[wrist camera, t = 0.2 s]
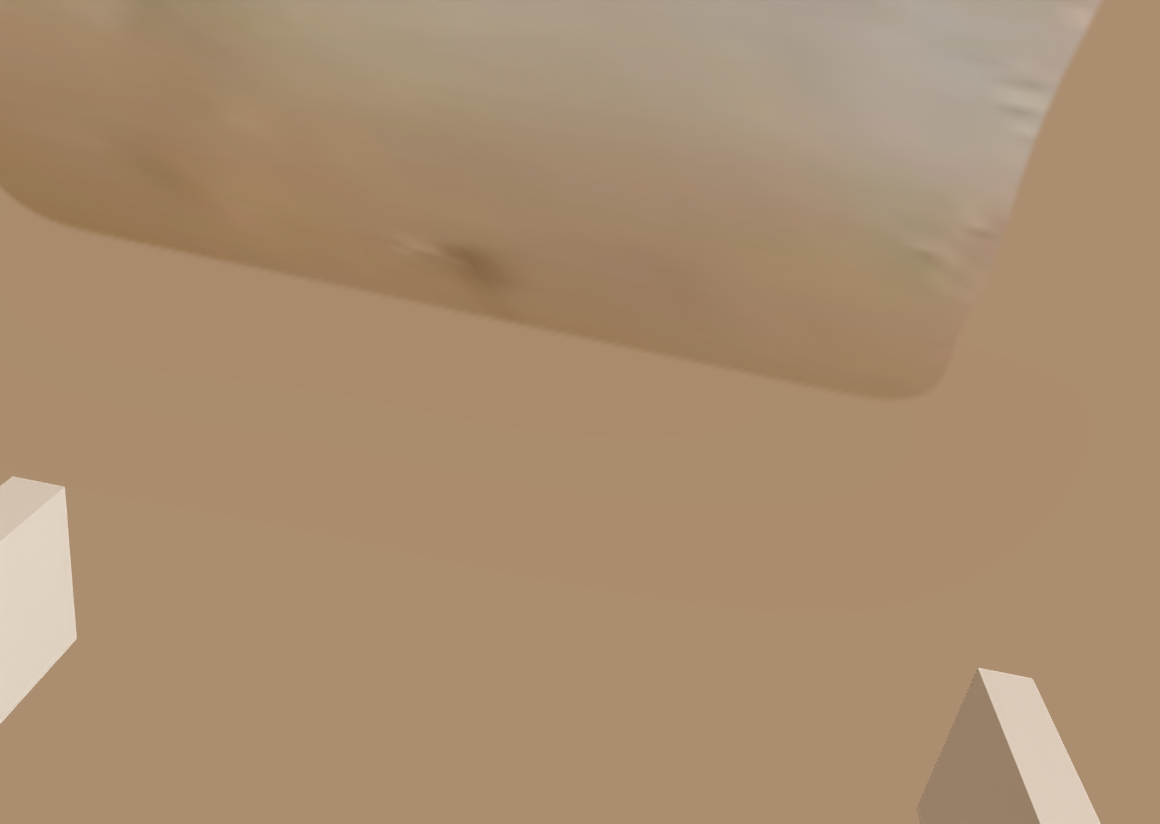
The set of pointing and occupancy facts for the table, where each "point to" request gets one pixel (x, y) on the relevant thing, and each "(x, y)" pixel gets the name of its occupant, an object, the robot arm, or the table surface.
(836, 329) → the table surface
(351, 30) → the table surface
